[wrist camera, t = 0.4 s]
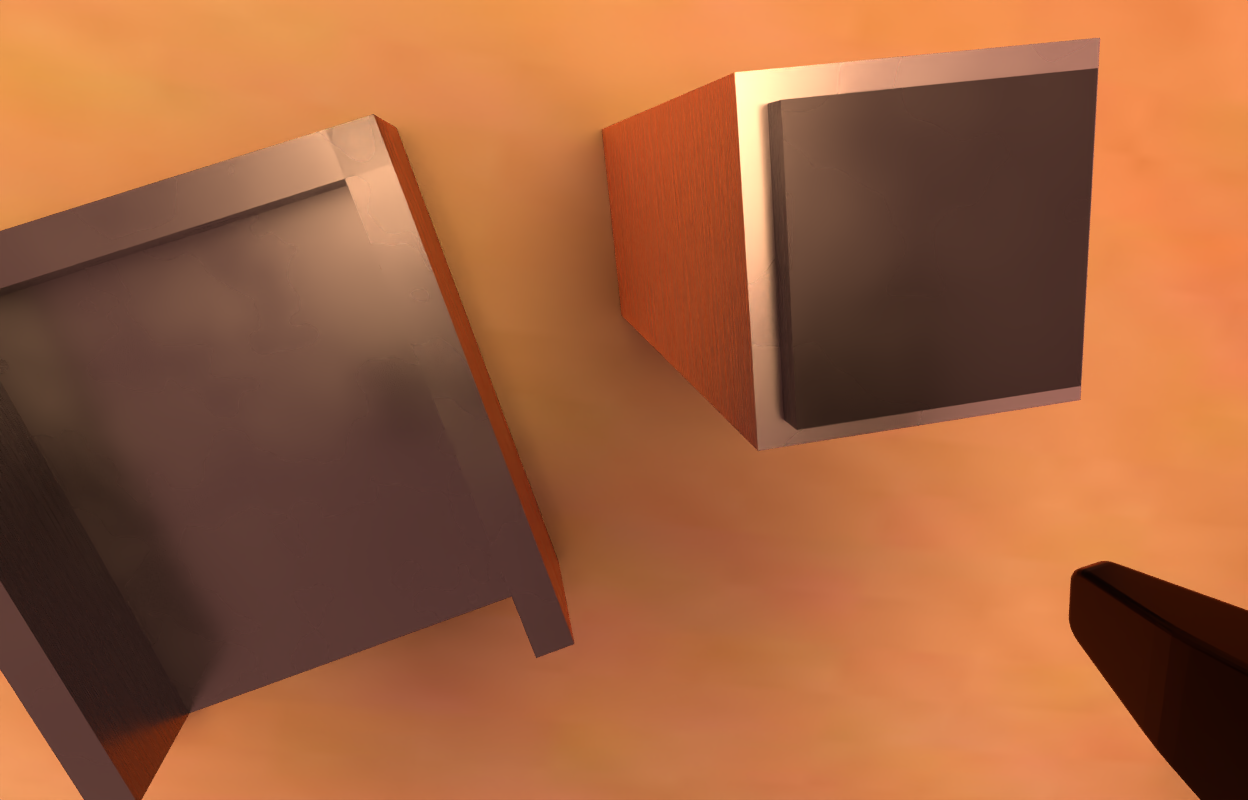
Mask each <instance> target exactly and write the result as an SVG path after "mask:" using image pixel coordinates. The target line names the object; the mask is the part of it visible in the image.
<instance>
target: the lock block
mask: <svg viewBox="0 0 1248 800" xmlns="http://www.w3.org/2000/svg"><path fill="white" fill-rule="evenodd" d="M1099 47H1100V38H1092V39H1082V40H1071V41H1061V42H1050V43H1040V44H1029V45H1019V46H1008V47H998V48H987V49H977V50H966V51H956V52H945V53H934V54H924V55H913V56H903V57H892V58H882V59H871V60H861V61H850V62H840V63H829V64H819V65H808V66H798V67H787V68H776V69H766V70H755V71H745V72H735V73H732V74H730V75H728V76H725V77H723V78H721V79H718V80H716V81H714V82H711V83H709V84H707V85H704V86H702V87H700V88H697V89H695V90H693V91H690V92H688V93H686V94H683V95H681V96H679V97H676V98H674V99H672V100H669V101H667V102H665V103H662V104H660V105H658V106H655V107H653V108H651V109H648V110H646V111H644V112H641V113H639V114H637V115H634V116H632V117H630V118H627V119H625V120H623V121H620V122H618V123H616V124H613V125H611V126H609V127H606V128H604V129H602V134H603V144H604V153H605V163H606V172H607V182H608V191H609V201H610V210H611V220H612V229H613V238H614V248H615V257H616V267H617V276H618V286H619V295H620V305H621V314H622V316H623V317H624V318H625V319H626V320H627V321H628V322H629V323H630V324H631V325H632V326H633V327H634V328H635V329H636V330H637V331H638V332H639V333H640V334H641V335H642V336H643V337H644V338H645V339H646V340H647V341H648V342H649V343H650V344H651V345H652V346H653V347H654V348H655V349H656V350H657V351H658V352H659V353H660V354H661V355H662V356H663V357H664V358H665V359H666V360H667V361H668V362H669V363H670V364H671V365H672V366H673V367H674V368H675V369H676V370H677V371H678V372H679V373H680V374H681V375H682V376H683V377H684V378H685V379H686V380H687V381H688V382H689V383H690V384H691V385H692V386H693V387H694V388H695V389H696V390H697V391H698V392H699V393H700V394H701V395H702V396H703V397H704V398H705V399H706V400H707V401H708V402H709V403H710V404H711V405H712V406H713V407H714V408H715V409H716V410H717V411H718V412H719V413H721V414H722V415H723V416H724V417H725V418H726V419H727V420H728V421H729V422H730V423H731V424H732V425H733V426H734V427H735V428H736V429H737V430H738V431H739V432H740V433H741V434H742V435H743V436H744V437H745V438H746V439H747V440H748V441H749V442H750V443H751V444H752V445H753V446H754V447H755V448H756V449H757V450H758V451H760V450H766V449H773V448H779V447H785V446H792V445H798V444H804V443H811V442H817V441H823V440H830V439H836V438H842V437H849V436H855V435H861V434H868V433H874V432H880V431H887V430H893V429H899V428H906V427H912V426H918V425H925V424H931V423H937V422H944V421H950V420H956V419H963V418H969V417H975V416H982V415H988V414H994V413H1001V412H1007V411H1013V410H1020V409H1026V408H1032V407H1039V406H1045V405H1051V404H1058V403H1064V402H1070V401H1077V400H1080V397H1081V379H1082V360H1083V342H1084V323H1085V305H1086V287H1087V268H1088V250H1089V231H1090V213H1091V195H1092V176H1093V158H1094V139H1095V121H1096V102H1097V84H1098V66H1099Z"/></svg>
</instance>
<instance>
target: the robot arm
mask: <svg viewBox="0 0 1248 800" xmlns="http://www.w3.org/2000/svg"><path fill="white" fill-rule="evenodd" d="M1069 623H1070V627H1071V630H1072V632H1073V634H1074V636H1075V638H1076V639H1077V641H1078V642H1079V644H1080V645H1081V646H1082V648H1083V649H1084V651H1085V652H1086V653H1087V655H1088V656H1089V658H1090V659H1091V660H1092V662H1093V663H1094V664H1095V666H1096V667H1097V669H1098V670H1099V671H1100V673H1101V674H1102V675H1103V677H1104V678H1105V680H1106V681H1107V682H1108V684H1109V685H1110V687H1111V688H1112V689H1113V691H1114V692H1115V693H1116V695H1117V696H1118V698H1119V699H1120V700H1121V702H1122V703H1123V704H1124V706H1125V707H1126V709H1127V710H1128V711H1129V713H1130V714H1131V715H1132V717H1133V718H1134V720H1135V721H1136V722H1137V724H1138V725H1139V727H1140V728H1141V729H1142V731H1143V732H1144V733H1145V735H1146V736H1147V737H1148V738H1149V740H1150V741H1151V742H1152V744H1153V745H1154V746H1155V748H1156V749H1157V750H1158V751H1159V752H1160V754H1161V755H1162V756H1163V757H1164V758H1165V760H1166V761H1167V762H1168V763H1169V764H1170V766H1171V767H1172V768H1173V769H1174V770H1175V771H1176V772H1177V774H1178V775H1179V776H1180V777H1181V778H1182V779H1183V780H1184V781H1185V783H1186V784H1187V785H1188V786H1189V787H1190V788H1191V789H1192V791H1193V792H1194V793H1195V794H1196V795H1197V796H1198V797H1199V799H1200V800H1248V610H1245V609H1243V608H1240V607H1237V606H1234V605H1231V604H1229V603H1226V602H1223V601H1220V600H1217V599H1215V598H1212V597H1209V596H1206V595H1203V594H1201V593H1198V592H1195V591H1192V590H1189V589H1187V588H1184V587H1181V586H1178V585H1175V584H1173V583H1170V582H1167V581H1164V580H1161V579H1159V578H1156V577H1153V576H1150V575H1147V574H1145V573H1142V572H1139V571H1136V570H1133V569H1131V568H1128V567H1125V566H1122V565H1119V564H1117V563H1113V562H1109V561H1100V562H1097V563H1094V564H1091V565H1088V566H1085V567H1082V568H1079V569H1077V570H1075V571H1074V573H1073V574H1072V576H1071V584H1070V604H1069Z"/></svg>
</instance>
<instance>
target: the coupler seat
mask: <svg viewBox="0 0 1248 800" xmlns="http://www.w3.org/2000/svg"><path fill="white" fill-rule="evenodd" d="M511 596H512V598H513V601H514V603H515V606H516V608H517V611H518V613H519V616H520V618H521V621H522V623H523V626H524V628H525V631H526V633H527V636H528V638H529V641H530V643H531V646H532V648H533V651H534V653H535V656H536V658H537V657H540V656H543V655H546V654H548V653H551V652H554V651H556V650H559V649H562V648H565V647H567V646H570V645H573V644H574V639H573V633H572V628H571V623H570V618H569V613H568V608H567V602H566V597H565V592H564V587H563V582H562V577H561V571H560V566H559V562H558V559H557V557H556V554H555V551H554V548H553V546H552V543H551V540H550V538H549V535H548V532H547V530H546V527H545V524H544V522H543V519H542V516H541V514H540V511H539V508H538V506H537V503H536V500H535V498H534V495H533V492H532V490H531V487H530V484H529V482H528V479H527V476H526V474H525V471H524V468H523V465H522V463H521V460H520V457H519V455H518V452H517V449H516V447H515V444H514V441H513V439H512V436H511V433H510V431H509V428H508V425H507V423H506V420H505V417H504V415H503V412H502V409H501V407H500V404H499V401H498V399H497V396H496V393H495V391H494V388H493V385H492V383H491V380H490V377H489V374H488V372H487V369H486V366H485V364H484V361H483V358H482V356H481V353H480V350H479V348H478V345H477V342H476V340H475V337H474V334H473V332H472V329H471V326H470V324H469V321H468V318H467V316H466V313H465V310H464V308H463V305H462V302H461V300H460V297H459V294H458V291H457V289H456V286H455V283H454V281H453V278H452V275H451V273H450V270H449V267H448V265H447V262H446V259H445V257H444V254H443V251H442V249H441V246H440V243H439V241H438V238H437V235H436V233H435V230H434V227H433V225H432V222H431V219H430V217H429V214H428V211H427V209H426V206H425V203H424V200H423V198H422V195H421V192H420V190H419V187H418V184H417V182H416V179H415V176H414V174H413V171H412V168H411V166H410V163H409V160H408V158H407V155H406V152H405V150H404V147H403V144H402V142H401V139H400V136H399V134H398V131H397V128H396V127H394V126H393V125H391V124H389V123H387V122H386V121H384V120H382V119H381V118H379V117H377V116H375V115H374V114H372V115H369V116H366V117H363V118H359V119H356V120H353V121H350V122H347V123H343V124H340V125H337V126H334V127H331V128H327V129H324V130H321V131H318V132H315V133H312V134H308V135H305V136H302V137H299V138H296V139H292V140H289V141H286V142H283V143H280V144H276V145H273V146H270V147H267V148H264V149H261V150H257V151H254V152H251V153H248V154H245V155H241V156H238V157H235V158H232V159H229V160H225V161H222V162H219V163H216V164H213V165H210V166H206V167H203V168H200V169H197V170H194V171H190V172H187V173H184V174H181V175H178V176H174V177H171V178H168V179H165V180H162V181H159V182H155V183H152V184H149V185H146V186H143V187H139V188H136V189H133V190H130V191H127V192H123V193H120V194H117V195H114V196H111V197H107V198H104V199H101V200H98V201H95V202H92V203H88V204H85V205H82V206H79V207H76V208H72V209H69V210H66V211H63V212H60V213H56V214H53V215H50V216H47V217H44V218H41V219H37V220H34V221H31V222H28V223H25V224H21V225H18V226H15V227H12V228H9V229H5V230H2V231H0V670H1V671H2V673H3V674H4V676H5V677H6V679H7V681H8V682H9V684H10V685H11V687H12V688H13V690H14V691H15V693H16V695H17V696H18V698H19V699H20V701H21V702H22V704H23V705H24V707H25V709H26V710H27V712H28V713H29V715H30V716H31V718H32V719H33V721H34V723H35V724H36V726H37V727H38V729H39V730H40V732H41V733H42V735H43V737H44V738H45V740H46V741H47V743H48V744H49V746H50V747H51V749H52V751H53V752H54V754H55V755H56V757H57V758H58V760H59V761H60V763H61V765H62V766H63V768H64V769H65V771H66V772H67V774H68V775H69V777H70V779H71V780H72V782H73V783H74V785H75V786H76V788H77V789H78V791H79V793H80V794H81V796H82V797H83V799H84V800H142V798H143V796H144V794H145V792H146V791H147V789H148V787H149V785H150V783H151V782H152V780H153V778H154V776H155V774H156V773H157V771H158V769H159V767H160V765H161V764H162V762H163V760H164V758H165V756H166V754H167V753H168V751H169V749H170V747H171V745H172V744H173V742H174V740H175V738H176V736H177V735H178V733H179V731H180V729H181V727H182V726H183V724H184V722H185V720H186V718H187V717H188V715H189V713H191V712H194V711H197V710H200V709H202V708H205V707H208V706H211V705H213V704H216V703H219V702H222V701H224V700H227V699H230V698H233V697H236V696H238V695H241V694H244V693H247V692H249V691H252V690H255V689H258V688H260V687H263V686H266V685H269V684H271V683H274V682H277V681H280V680H282V679H285V678H288V677H291V676H293V675H296V674H299V673H302V672H304V671H307V670H310V669H313V668H315V667H318V666H321V665H324V664H326V663H329V662H332V661H335V660H337V659H340V658H343V657H346V656H349V655H351V654H354V653H357V652H360V651H362V650H365V649H368V648H371V647H373V646H376V645H379V644H382V643H384V642H387V641H390V640H393V639H395V638H398V637H401V636H404V635H406V634H409V633H412V632H415V631H417V630H420V629H423V628H426V627H428V626H431V625H434V624H437V623H439V622H442V621H445V620H448V619H450V618H453V617H456V616H459V615H462V614H464V613H467V612H470V611H473V610H475V609H478V608H481V607H484V606H486V605H489V604H492V603H495V602H497V601H500V600H503V599H506V598H508V597H511Z"/></svg>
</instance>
